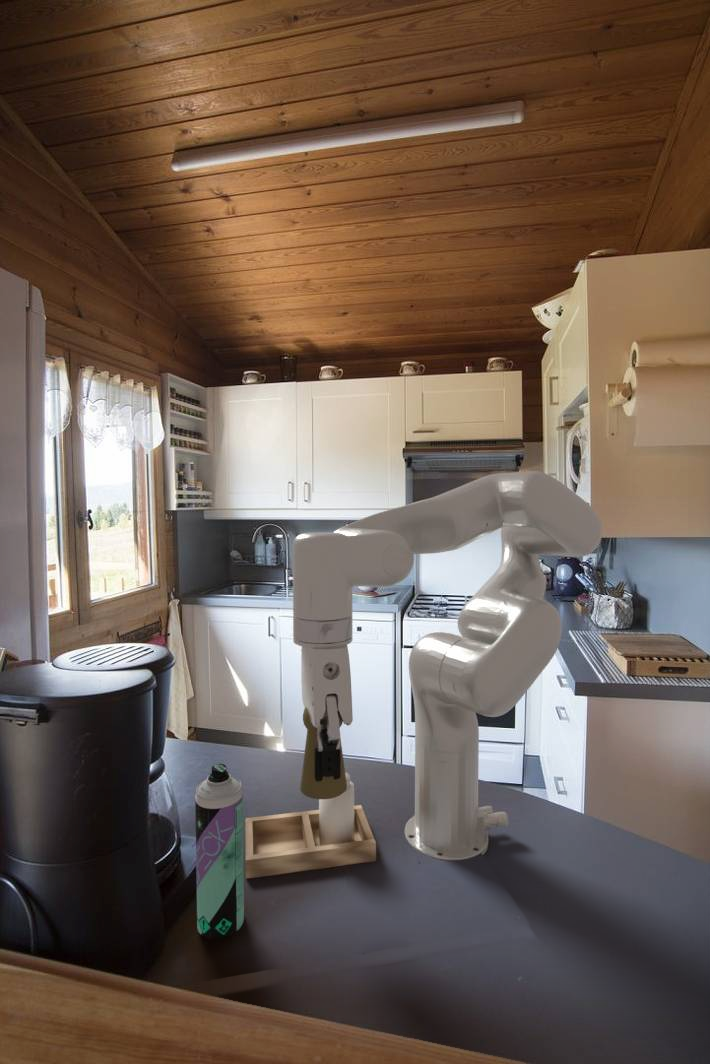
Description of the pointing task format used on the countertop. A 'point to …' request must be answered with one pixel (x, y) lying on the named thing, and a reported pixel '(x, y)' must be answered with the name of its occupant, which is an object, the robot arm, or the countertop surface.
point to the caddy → (302, 844)
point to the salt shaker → (337, 817)
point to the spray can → (219, 854)
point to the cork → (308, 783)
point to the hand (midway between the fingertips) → (323, 768)
